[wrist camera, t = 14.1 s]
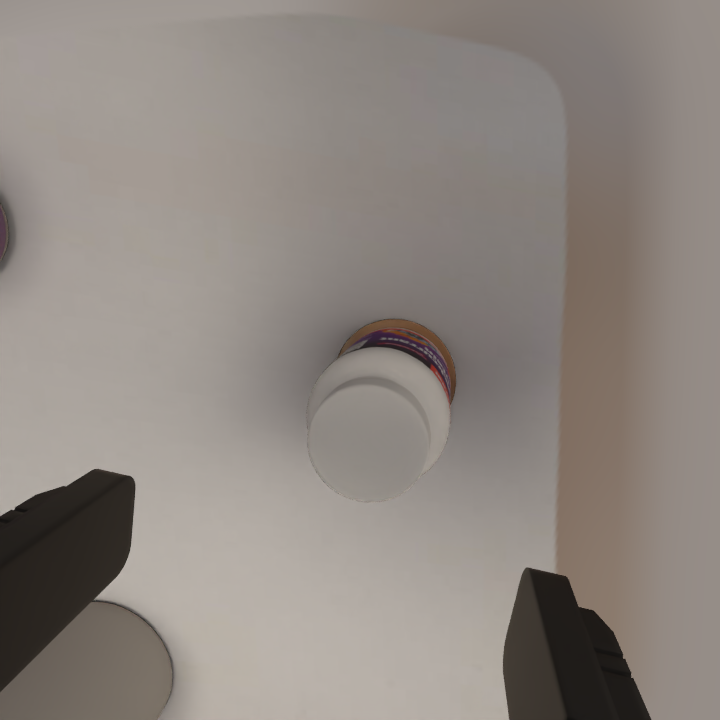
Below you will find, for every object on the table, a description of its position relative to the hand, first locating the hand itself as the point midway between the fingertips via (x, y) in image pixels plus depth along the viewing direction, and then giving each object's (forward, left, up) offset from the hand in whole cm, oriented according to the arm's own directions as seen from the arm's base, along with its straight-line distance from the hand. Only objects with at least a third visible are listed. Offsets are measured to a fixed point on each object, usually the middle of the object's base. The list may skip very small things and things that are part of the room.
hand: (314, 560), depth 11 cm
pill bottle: (0, 0, -17) cm, 17 cm away
